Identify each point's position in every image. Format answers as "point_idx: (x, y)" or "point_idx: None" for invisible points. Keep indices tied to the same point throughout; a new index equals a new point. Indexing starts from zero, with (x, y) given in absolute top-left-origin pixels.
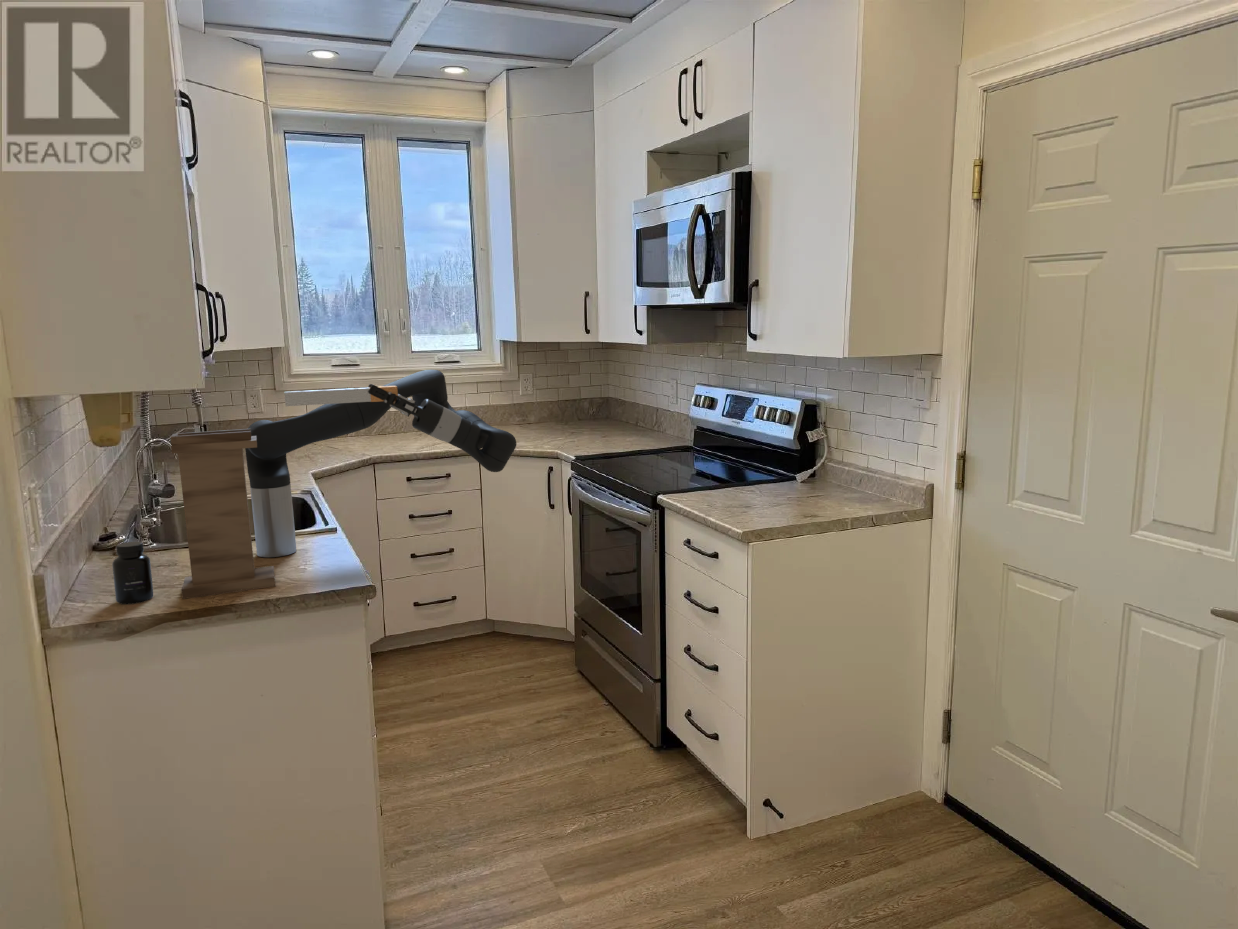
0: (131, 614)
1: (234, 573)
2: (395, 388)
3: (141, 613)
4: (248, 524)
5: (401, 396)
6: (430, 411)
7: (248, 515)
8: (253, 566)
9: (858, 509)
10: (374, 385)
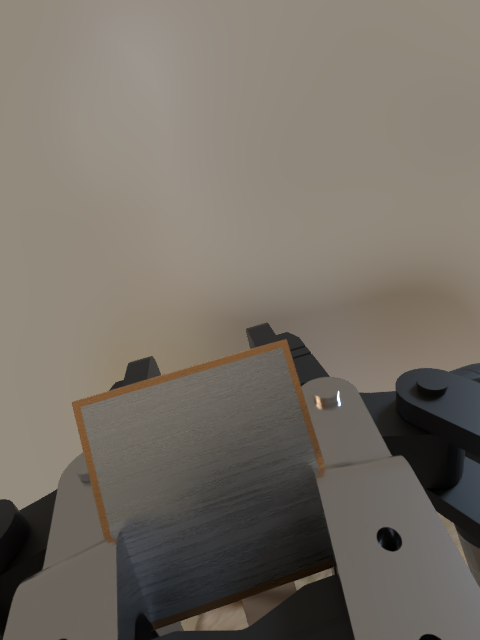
0: (215, 612)
1: None
2: (89, 427)
3: (213, 621)
4: (246, 616)
5: (15, 633)
6: None
7: (247, 598)
8: None
9: None
10: (128, 367)
